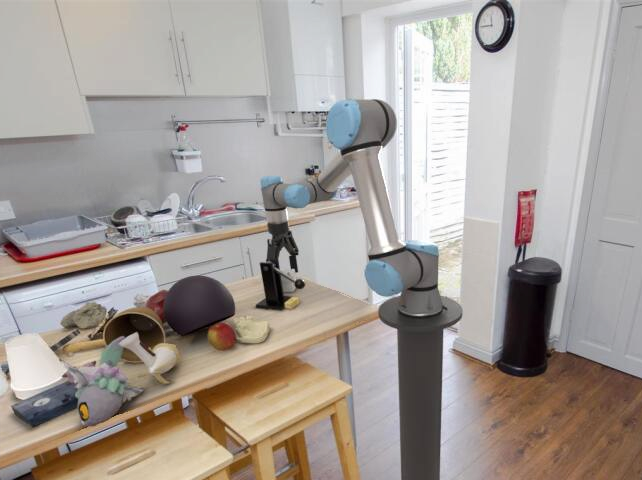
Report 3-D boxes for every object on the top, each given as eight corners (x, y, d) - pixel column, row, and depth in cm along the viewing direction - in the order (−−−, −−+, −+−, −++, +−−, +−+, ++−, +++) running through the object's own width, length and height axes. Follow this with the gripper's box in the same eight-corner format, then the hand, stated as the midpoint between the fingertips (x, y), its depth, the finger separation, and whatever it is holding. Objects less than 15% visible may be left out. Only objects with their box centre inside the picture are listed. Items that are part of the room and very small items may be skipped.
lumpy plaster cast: (237, 329, 145) (236, 312, 142) (271, 332, 146) (271, 314, 143) (228, 344, 135) (227, 326, 132) (264, 347, 136) (264, 328, 134)
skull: (183, 300, 161) (181, 314, 163) (141, 286, 160) (140, 301, 162) (172, 308, 154) (171, 322, 157) (128, 294, 153) (128, 309, 156)
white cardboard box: (282, 286, 178) (279, 268, 175) (297, 286, 178) (295, 268, 175) (277, 292, 173) (274, 273, 170) (293, 292, 173) (290, 273, 169)
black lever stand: (295, 299, 166) (289, 257, 159) (281, 310, 157) (274, 266, 150) (270, 297, 168) (263, 256, 161) (256, 307, 160) (248, 264, 153)
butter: (299, 302, 163) (299, 297, 163) (291, 309, 158) (291, 303, 157) (293, 301, 164) (292, 296, 163) (284, 308, 159) (284, 303, 158)
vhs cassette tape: (13, 414, 107) (32, 428, 102) (8, 404, 105) (27, 417, 100) (96, 380, 120) (115, 390, 115) (92, 370, 119) (112, 380, 114)
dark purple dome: (174, 340, 143) (151, 295, 141) (235, 316, 152) (215, 273, 150) (175, 336, 125) (149, 283, 123) (244, 309, 134) (221, 259, 132)
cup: (-24, 350, 106) (2, 398, 113) (21, 354, 104) (45, 402, 111) (23, 326, 116) (44, 371, 123) (64, 329, 114) (84, 374, 121)
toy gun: (136, 324, 125) (168, 369, 131) (104, 351, 106) (143, 402, 111) (169, 309, 126) (199, 353, 131) (143, 332, 106) (180, 383, 112)
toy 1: (29, 366, 128) (43, 359, 123) (24, 362, 127) (38, 355, 122) (71, 337, 138) (86, 329, 133) (67, 333, 138) (82, 325, 132)
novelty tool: (174, 327, 149) (64, 350, 133) (172, 318, 148) (60, 340, 132) (180, 338, 143) (65, 362, 127) (178, 328, 142) (62, 352, 126)
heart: (145, 292, 152) (161, 283, 147) (167, 302, 158) (183, 294, 152) (133, 322, 147) (149, 315, 141) (156, 333, 152) (172, 325, 147)
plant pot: (110, 297, 133) (97, 314, 119) (166, 293, 137) (160, 310, 124) (120, 344, 138) (109, 366, 124) (174, 339, 143) (169, 359, 129)
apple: (240, 331, 138) (232, 316, 132) (237, 354, 134) (229, 340, 127) (215, 332, 138) (206, 317, 131) (211, 355, 134) (201, 341, 127)
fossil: (66, 297, 144) (53, 324, 145) (97, 313, 144) (83, 340, 145) (95, 296, 158) (83, 320, 159) (123, 311, 159) (110, 335, 160)
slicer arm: (304, 289, 159) (308, 281, 157) (300, 292, 156) (303, 284, 154) (267, 266, 159) (270, 258, 157) (262, 269, 156) (265, 261, 154)
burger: (108, 309, 134) (131, 324, 138) (116, 303, 145) (138, 317, 148) (80, 340, 134) (105, 355, 137) (91, 332, 144) (113, 346, 148)
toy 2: (86, 436, 99) (61, 377, 92) (75, 404, 110) (52, 350, 103) (156, 410, 107) (137, 354, 100) (139, 383, 118) (121, 331, 111)
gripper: (285, 214, 175) (293, 267, 185) (249, 229, 154) (260, 288, 164) (302, 214, 173) (309, 268, 183) (268, 230, 152) (278, 289, 162)
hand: (286, 277), depth 173 cm, fingers open, 13 cm apart
